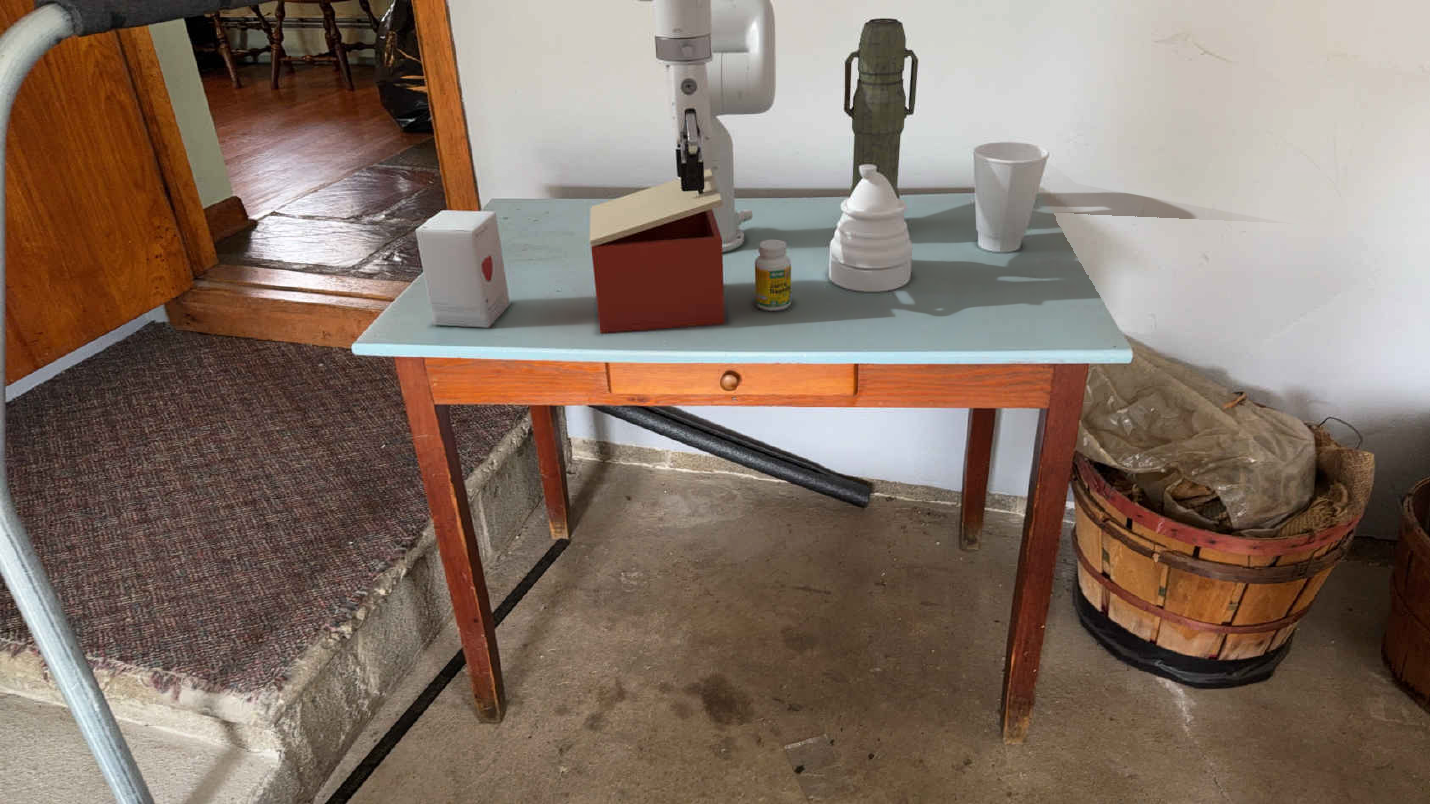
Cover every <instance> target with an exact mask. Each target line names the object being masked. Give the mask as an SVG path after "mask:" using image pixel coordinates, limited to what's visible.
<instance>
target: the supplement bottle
mask: <svg viewBox="0 0 1430 804" xmlns="http://www.w3.org/2000/svg"><path fill="white" fill-rule="evenodd" d="M787 251H788V250H787V243H786V242H785V241H783V240H780V239H767V240H762V241H760V242H759V244H758V253H759V256H757V257H756V258H755V261H754V282H755V283H754V284H755V287H754V289H755V305H756V307H758V308H759V309H761V310H765V311H769V312H775V311H776V312H777V311H783V310H785V309H787V308H788V307H790V305H791V302H792V261H791V259H790V257H789V256H788V255H787Z"/></svg>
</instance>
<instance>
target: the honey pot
mask: <svg viewBox="0 0 1430 804" xmlns="http://www.w3.org/2000/svg"><path fill="white" fill-rule="evenodd" d="M876 168H877V166H875V165H870V164H865V165H861V166H859V171H860V174H861V176H862V180H861V181H860V182H859V183H858V185H857V186H856V188H855V189H854V191H853V193H852V194H851V196H850V198H849V197H848V198H846V199H844V200H843V201H842V202H841V203H840V210H841V211H842V214H841V216H840V218H839V220H838V221H837V223H836V229H835V231H834V236H833V238H832V239H831V241H830V243H829V249H830V250H829V262H828V263H829V264H828V278H829V280H830V281H831V282H832V283H834V284H835V285H837V286H838V287H842V288H844V289H847V290H852V291H857V292H866V293H867V292H869V293H870V292H872V293H873V292H875V293H876V292H886V291H891V290H895V289H896V290H897V289H899V288H901V287H904V286H905V285H906V284H908V283H909V282H910V279H911V272H912V260H913V258H912V255H913V244H912V241H911V239H910V233H909V231H908V223H907V222H906V221H905V219H904V215H903V214H905V212H906V211H907V208H908V207H907V204H906V202H905V201H903V200H902V199H898V198H897V197H896V194H895V192H894V190H893V188H892V186H891V184H890V183H889V181H888V180H887V179H886V177H884V176H883V175H882V174H880V173H878V172H876Z"/></svg>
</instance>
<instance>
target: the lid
mask: <svg viewBox="0 0 1430 804" xmlns="http://www.w3.org/2000/svg"><path fill="white" fill-rule="evenodd" d="M704 186H705V188H704V190H700V191H686V192H684V191H682V189H681V178H680V179H678V178H676V179H673V180H670V181H667V182H664V183H661V184H658V185H655V186H651V187H649V188H646V189H643V190H640V191H636V192H633V193H630V194H627V195H624V196H621V197H617V198H614V199H612V200H608V201H606V202H602V203H599V204H596V205H592V206H590V221H589V243H590V247H591V246H592V247H593V246H597V245H600V244H603V243H606V242H609V241H612V240H615V239H619V238H622V237H625V236H628V235H631V234H634V233H637V232H641V231H644V230H647V229H650V228H653V227H656V226H659V225H663V224H666V223H669V222H672V221H675V220H678V219H681V218H685V217H688V216H691V215H694V214H697V213H700V212H704V211H707V210H710V209H713V208H716V207H719V206H722V205H723V202H722V199H721V196H720V194H719V191H718V188H717V186H716V183H715V180H714V178H713V175H712V172H711V170H710V169H708V170H705V171H704Z"/></svg>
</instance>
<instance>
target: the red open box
mask: <svg viewBox="0 0 1430 804" xmlns="http://www.w3.org/2000/svg"><path fill="white" fill-rule="evenodd" d="M590 247H591V248H590V249H591V258H592V259H591V260H592V269H593V277H594V288H595V295H596V296H595V297H596V305H597V315H598V325H599V333H600V334H609V333H621V332H635V331H636V332H637V331H648V330H660V329H661V330H662V329H674V328H675V329H676V328H685V327H686V328H687V327H700V326H713V325H724V324H725V323H726V322H725V320H726V319H725V290H724V287H725V286H724V262H723V261H724V257H723V255H724V254H723V252H722V237H721V234H720V231H719V228H718V225H717V222H716V219H715V216H714V213H713V210H712V209H710V210H707V211H704V212H700V213H697V214H694V215H691V216H688V217H685V218H681V219H678V220H675V221H672V222H669V223H666V224H663V225H659V226H656V227H653V228H650V229H647V230H644V231H641V232H637V233H634V234H631V235H628V236H625V237H622V238H619V239H615V240H612V241H609V242H606V243H603V244H600V245H597V246H593V247H592V246H591V245H590Z"/></svg>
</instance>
